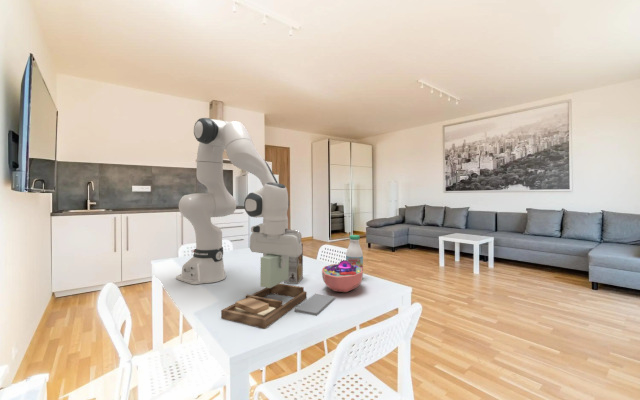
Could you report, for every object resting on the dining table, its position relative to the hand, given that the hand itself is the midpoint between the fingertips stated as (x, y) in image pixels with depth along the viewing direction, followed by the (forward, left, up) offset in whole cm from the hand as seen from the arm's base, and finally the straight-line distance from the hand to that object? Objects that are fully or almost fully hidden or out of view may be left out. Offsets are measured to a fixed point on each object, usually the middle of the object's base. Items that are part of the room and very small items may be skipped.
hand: (275, 266), depth 101 cm
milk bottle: (+17, +39, -13) cm, 45 cm away
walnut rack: (0, -5, -13) cm, 14 cm away
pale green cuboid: (0, 0, -6) cm, 6 cm away
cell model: (+17, +23, -13) cm, 32 cm away
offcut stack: (0, -13, -13) cm, 18 cm away
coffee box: (-7, +25, -13) cm, 29 cm away
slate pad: (+14, +4, -13) cm, 20 cm away
